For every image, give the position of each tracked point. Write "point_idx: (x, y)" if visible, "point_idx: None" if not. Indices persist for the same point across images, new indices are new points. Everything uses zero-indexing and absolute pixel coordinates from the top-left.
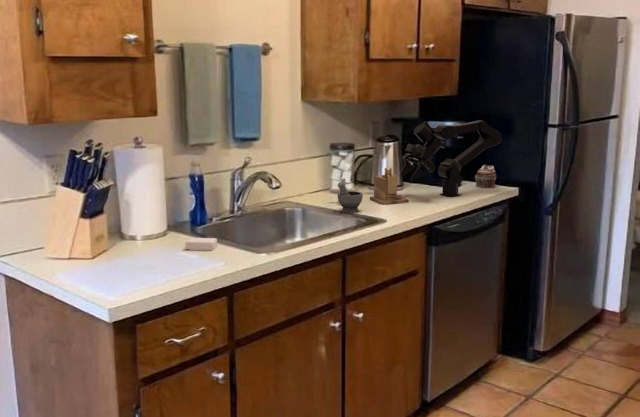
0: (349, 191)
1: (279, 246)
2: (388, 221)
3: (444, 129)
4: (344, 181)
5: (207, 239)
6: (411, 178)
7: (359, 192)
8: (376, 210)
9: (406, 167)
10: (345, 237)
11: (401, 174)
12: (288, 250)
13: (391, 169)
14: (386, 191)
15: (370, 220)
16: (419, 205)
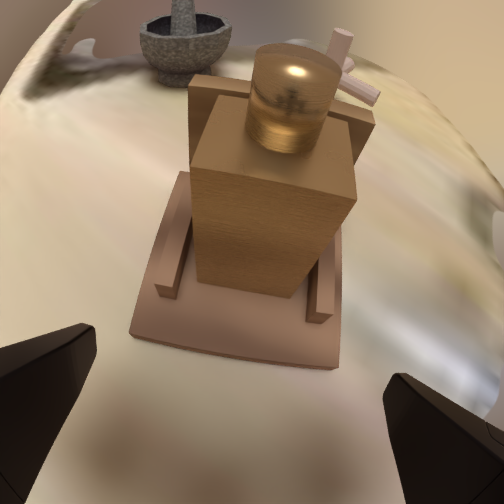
0: (218, 29)
1: (94, 3)
2: (19, 100)
3: None
4: (331, 38)
5: None
6: (79, 329)
7: (175, 36)
8: (121, 120)
9: (465, 479)
10: (43, 38)
11: (398, 389)
12: (75, 7)
13: (266, 77)
14: (189, 159)
15: (61, 76)
16: (40, 327)
